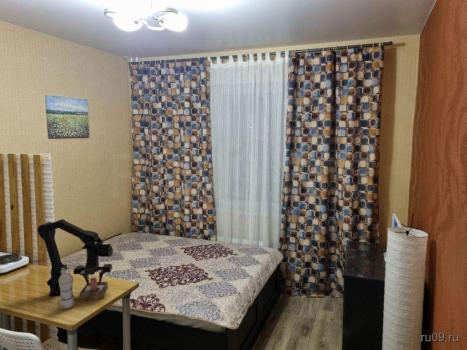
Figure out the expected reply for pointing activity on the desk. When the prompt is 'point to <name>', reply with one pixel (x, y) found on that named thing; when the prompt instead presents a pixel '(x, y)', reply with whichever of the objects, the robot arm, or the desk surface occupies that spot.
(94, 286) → the peg
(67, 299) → the plastic bottle
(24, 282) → the desk surface
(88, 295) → the square frame
